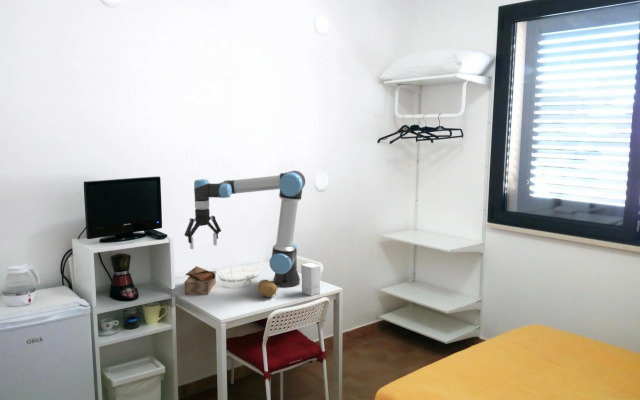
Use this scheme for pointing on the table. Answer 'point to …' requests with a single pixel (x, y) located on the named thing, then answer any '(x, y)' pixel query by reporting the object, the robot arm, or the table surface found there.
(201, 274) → the sunglasses case
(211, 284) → the walnut box
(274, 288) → the potato
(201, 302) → the table surface
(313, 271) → the skincare box
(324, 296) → the table surface
